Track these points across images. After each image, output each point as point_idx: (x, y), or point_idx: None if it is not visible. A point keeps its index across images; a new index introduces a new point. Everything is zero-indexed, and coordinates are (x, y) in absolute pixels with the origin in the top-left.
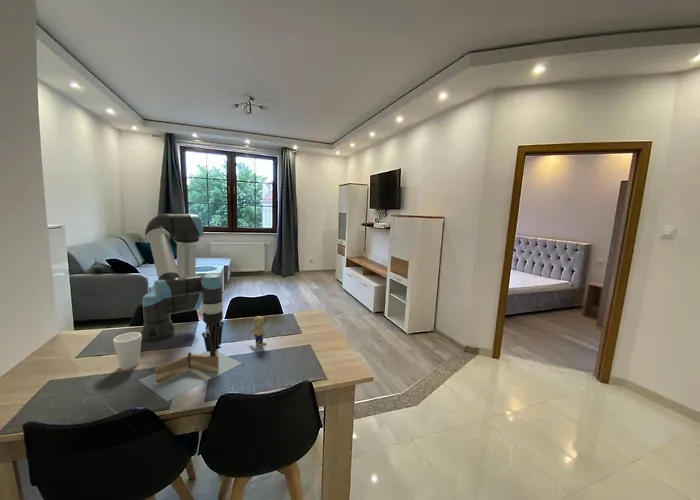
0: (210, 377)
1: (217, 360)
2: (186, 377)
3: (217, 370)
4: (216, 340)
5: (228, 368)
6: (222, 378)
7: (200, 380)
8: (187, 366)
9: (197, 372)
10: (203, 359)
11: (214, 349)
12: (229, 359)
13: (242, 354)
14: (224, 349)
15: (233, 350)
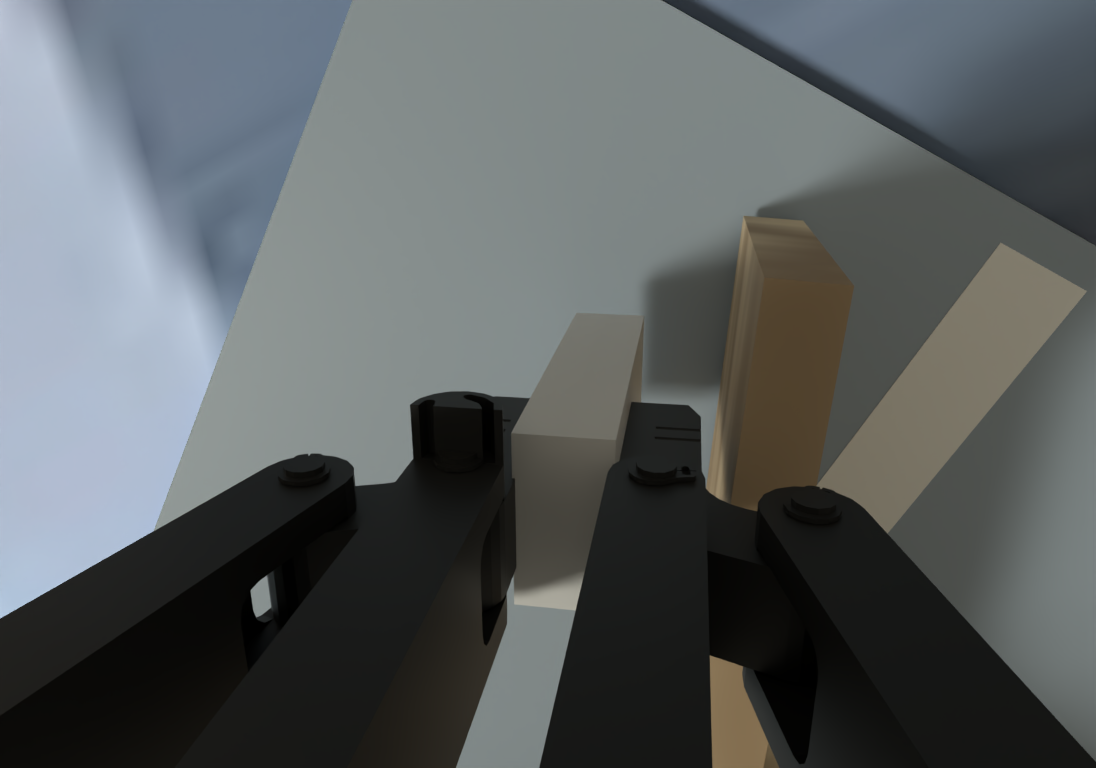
0: (993, 258)
1: (811, 263)
2: None
3: (791, 222)
4: (429, 648)
5: (645, 54)
6: (992, 9)
7: (1093, 392)
8: (765, 764)
9: None
10: None
11: (697, 494)
12: (331, 202)
13: (85, 44)
14: (50, 452)
15: (24, 289)
